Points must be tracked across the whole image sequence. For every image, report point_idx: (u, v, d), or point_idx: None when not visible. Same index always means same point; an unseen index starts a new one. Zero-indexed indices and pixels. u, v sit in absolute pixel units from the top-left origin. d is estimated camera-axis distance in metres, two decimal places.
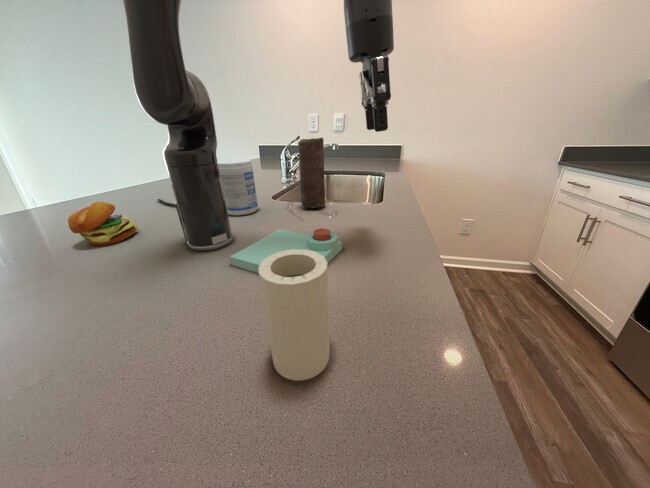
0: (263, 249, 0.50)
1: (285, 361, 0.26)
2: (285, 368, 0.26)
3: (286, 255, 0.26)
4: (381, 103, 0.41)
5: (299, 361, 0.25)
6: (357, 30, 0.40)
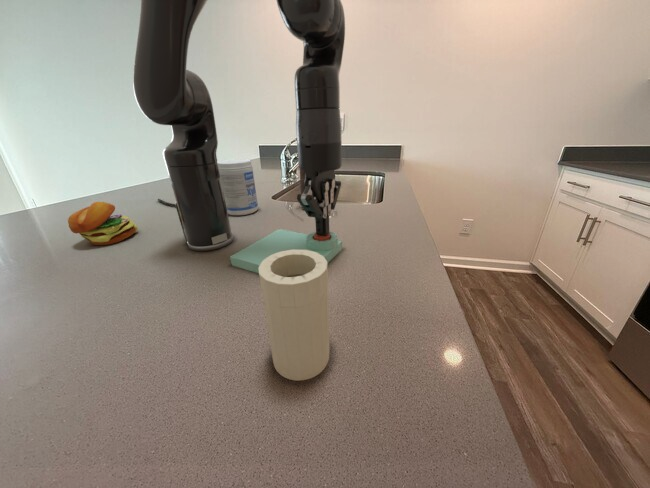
0: (263, 249, 0.50)
1: (285, 361, 0.26)
2: (285, 368, 0.26)
3: (286, 255, 0.26)
4: (316, 217, 0.47)
5: (299, 361, 0.25)
6: (298, 150, 0.43)
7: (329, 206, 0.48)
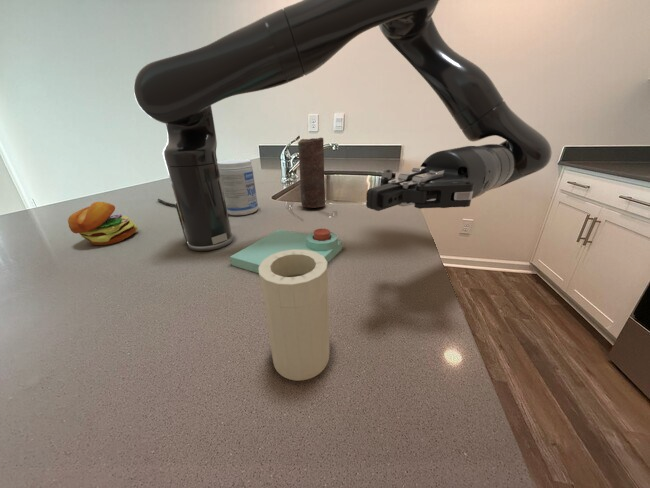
0: (263, 249, 0.50)
1: (285, 361, 0.26)
2: (285, 368, 0.26)
3: (286, 255, 0.26)
4: (411, 196, 0.28)
5: (299, 361, 0.25)
6: (478, 161, 0.32)
7: None
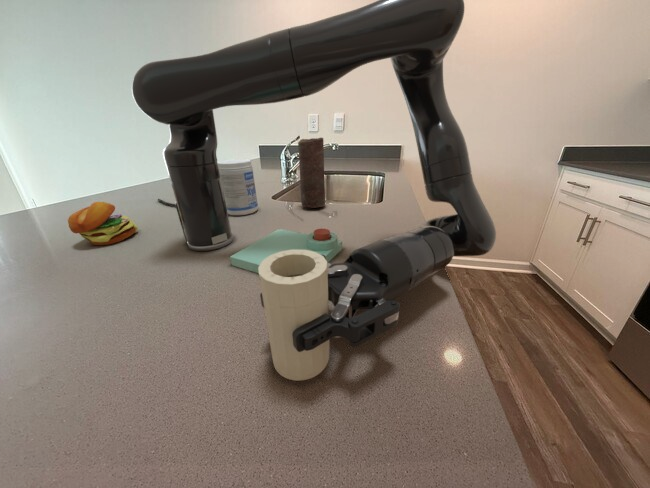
0: (263, 249, 0.50)
1: (285, 361, 0.26)
2: (285, 368, 0.26)
3: (286, 255, 0.26)
4: (342, 331, 0.24)
5: (299, 361, 0.25)
6: (403, 263, 0.30)
7: None
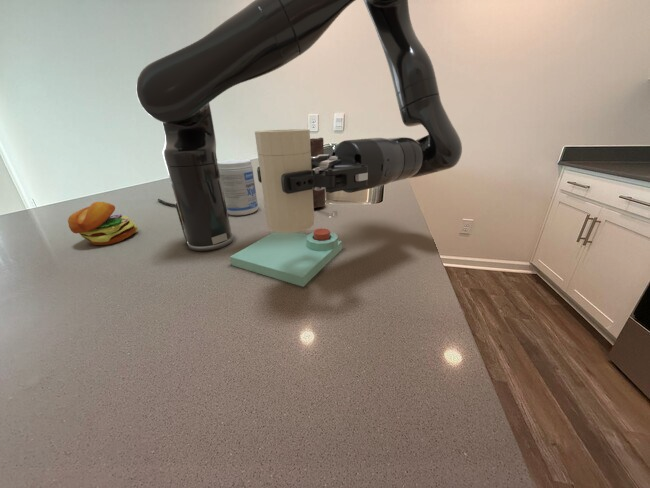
0: (263, 249, 0.50)
1: (277, 213, 0.32)
2: (276, 221, 0.33)
3: (277, 130, 0.32)
4: (321, 181, 0.30)
5: (287, 211, 0.32)
6: (375, 150, 0.36)
7: None
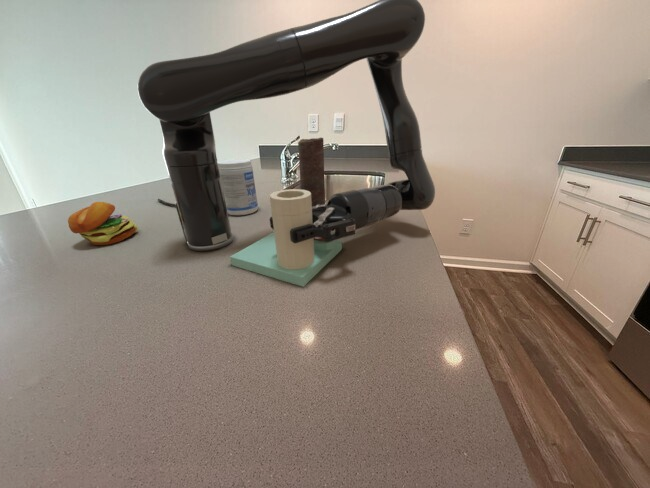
0: (263, 249, 0.50)
1: (286, 255, 0.42)
2: (285, 261, 0.42)
3: (286, 191, 0.42)
4: (320, 233, 0.40)
5: (294, 254, 0.42)
6: (362, 202, 0.46)
7: None
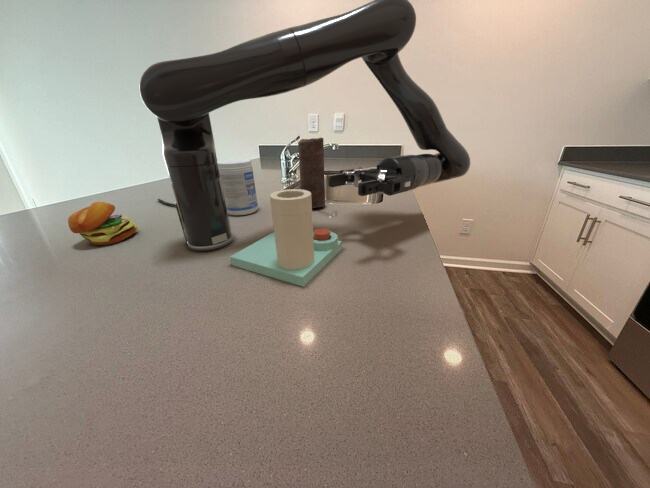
0: (263, 249, 0.50)
1: (286, 255, 0.42)
2: (285, 261, 0.42)
3: (286, 191, 0.42)
4: (384, 187, 0.44)
5: (294, 254, 0.42)
6: (410, 165, 0.51)
7: None
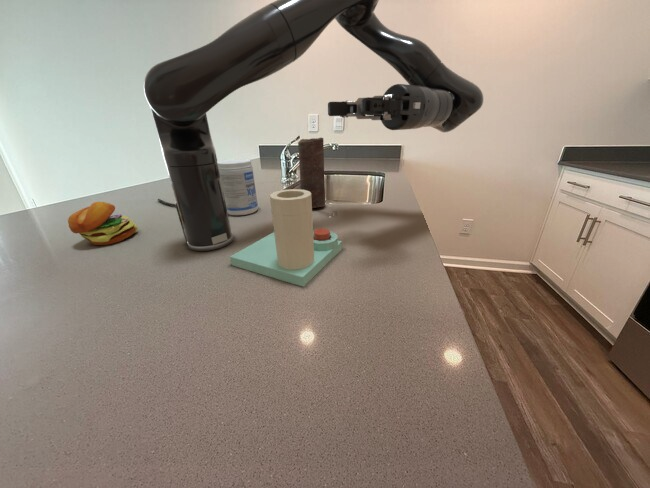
0: (263, 249, 0.50)
1: (286, 255, 0.42)
2: (285, 261, 0.42)
3: (286, 191, 0.42)
4: (391, 105, 0.39)
5: (294, 254, 0.42)
6: (419, 92, 0.46)
7: None
